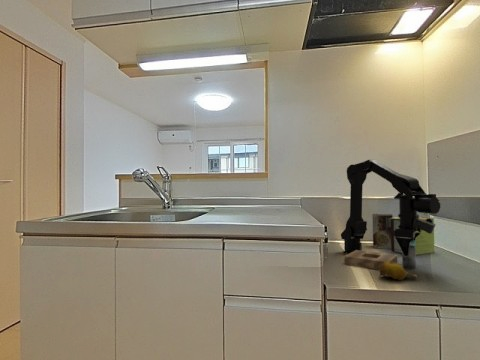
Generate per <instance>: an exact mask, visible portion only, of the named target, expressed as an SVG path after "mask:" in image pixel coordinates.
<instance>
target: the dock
mask: <svg viewBox="0 0 480 360" xmlns="http://www.w3.org/2000/svg"><path fill="white" fill-rule="evenodd" d="M343 258H344V259H343V260H344V261H343V262H344V265H347V266H348V265H349V266H355V267H361V268H367V269H374V270H380V266H381V265H382V264H383V263H384V262H393V263H395V264H398V254H392V253H391V254H390V253H384V252H383V253H382V252H375V251H368V250H362V251H361V250H355V251H353V252H351V253H350V254H349V253H347V254H346V255H344V256H343Z"/></svg>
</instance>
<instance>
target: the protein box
mask: <svg viewBox="0 0 480 360" xmlns="http://www.w3.org/2000/svg"><path fill="white" fill-rule="evenodd" d="M419 218H420V219H422V220H426V219H428V218H429V219H432V220H433V224H435V221H434V220H435V219H434V218H433V217H427V216H426V217H425V216H419ZM398 225H400V217H398V216H395V217H393V218H391V249H390V251H391V252H394V253H398V254H402V250H401V248H400V246H399V244H398V242H397V240H396V238H395V236H394V230H396V229H397V228H398ZM417 232H419V231H417ZM419 233H421V234H419V235H418V236H417V237H416V240H415V241H416V256H417V255H424V254H431V253H435V229H434V230H433V232H432V233H431V234H430V233H427V232H426V231H423V230H422V232H419Z"/></svg>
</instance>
